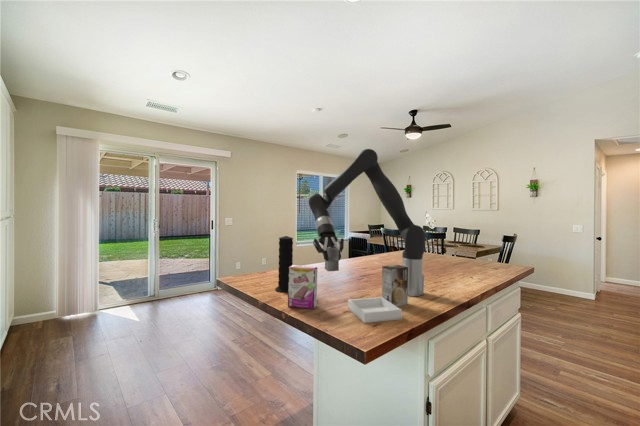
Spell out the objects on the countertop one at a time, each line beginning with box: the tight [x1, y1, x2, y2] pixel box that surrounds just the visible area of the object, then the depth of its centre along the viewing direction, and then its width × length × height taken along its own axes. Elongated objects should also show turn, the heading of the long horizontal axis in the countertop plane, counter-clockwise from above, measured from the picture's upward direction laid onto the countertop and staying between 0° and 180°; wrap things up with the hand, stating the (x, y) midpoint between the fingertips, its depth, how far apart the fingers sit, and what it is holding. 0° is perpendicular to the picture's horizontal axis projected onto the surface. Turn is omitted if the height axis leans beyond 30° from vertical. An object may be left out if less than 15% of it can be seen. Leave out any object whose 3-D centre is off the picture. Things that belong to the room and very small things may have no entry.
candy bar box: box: [287, 264, 318, 310], centre depth 114 cm, size 11×5×16 cm, turn 78°
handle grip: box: [274, 235, 294, 294], centre depth 137 cm, size 10×26×10 cm
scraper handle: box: [324, 247, 340, 272], centre depth 116 cm, size 4×4×9 cm
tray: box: [347, 296, 403, 324], centre depth 108 cm, size 15×15×4 cm
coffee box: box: [381, 264, 409, 307], centre depth 119 cm, size 9×6×16 cm
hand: (333, 259), depth 114 cm, fingers closed on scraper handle, 4 cm apart
